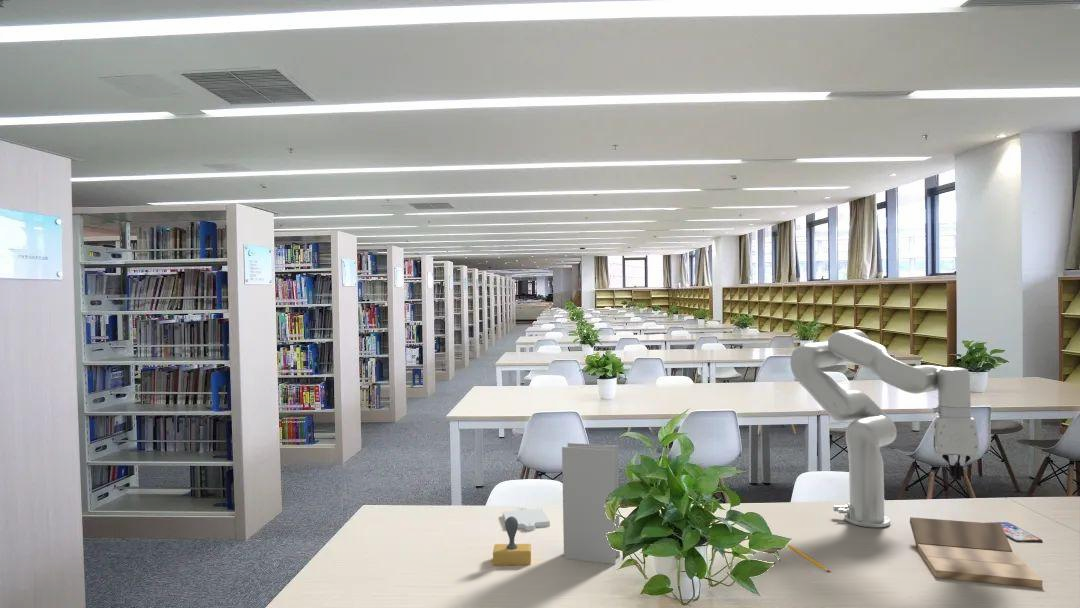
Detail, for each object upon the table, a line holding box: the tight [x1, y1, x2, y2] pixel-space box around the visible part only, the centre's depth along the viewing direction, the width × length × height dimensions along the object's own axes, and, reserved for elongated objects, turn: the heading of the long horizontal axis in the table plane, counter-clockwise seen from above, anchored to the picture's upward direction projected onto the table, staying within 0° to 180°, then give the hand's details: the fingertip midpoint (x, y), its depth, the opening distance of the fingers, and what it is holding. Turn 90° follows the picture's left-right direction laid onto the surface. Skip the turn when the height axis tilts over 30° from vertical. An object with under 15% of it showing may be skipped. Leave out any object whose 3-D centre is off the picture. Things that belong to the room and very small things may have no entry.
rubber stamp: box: [492, 516, 532, 566], centre depth 174 cm, size 10×6×12 cm, turn 90°
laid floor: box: [917, 544, 1043, 589], centre depth 164 cm, size 22×18×2 cm
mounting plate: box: [502, 507, 551, 532], centre depth 205 cm, size 18×13×2 cm
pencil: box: [787, 544, 831, 573], centre depth 173 cm, size 1×19×1 cm, turn 11°
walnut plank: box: [909, 516, 1013, 552], centre depth 177 cm, size 22×9×2 cm, turn 72°
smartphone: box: [991, 521, 1043, 543], centre depth 188 cm, size 8×1×15 cm
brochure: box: [561, 442, 621, 565], centre depth 175 cm, size 14×6×30 cm, turn 71°
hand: (956, 478), depth 179 cm, fingers closed
